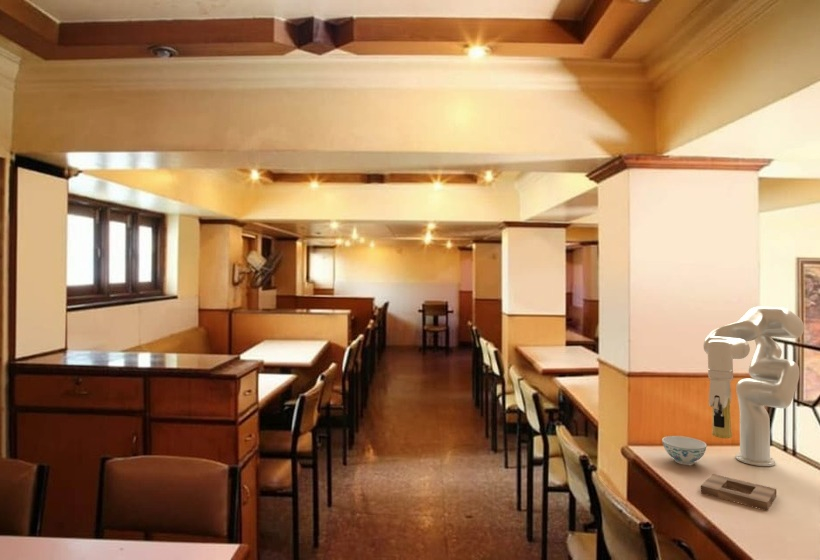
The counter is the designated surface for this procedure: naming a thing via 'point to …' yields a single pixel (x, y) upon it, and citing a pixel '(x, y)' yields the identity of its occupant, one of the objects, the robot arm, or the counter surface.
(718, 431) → the vase
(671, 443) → the chinaware
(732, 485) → the vase stand
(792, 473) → the counter surface
